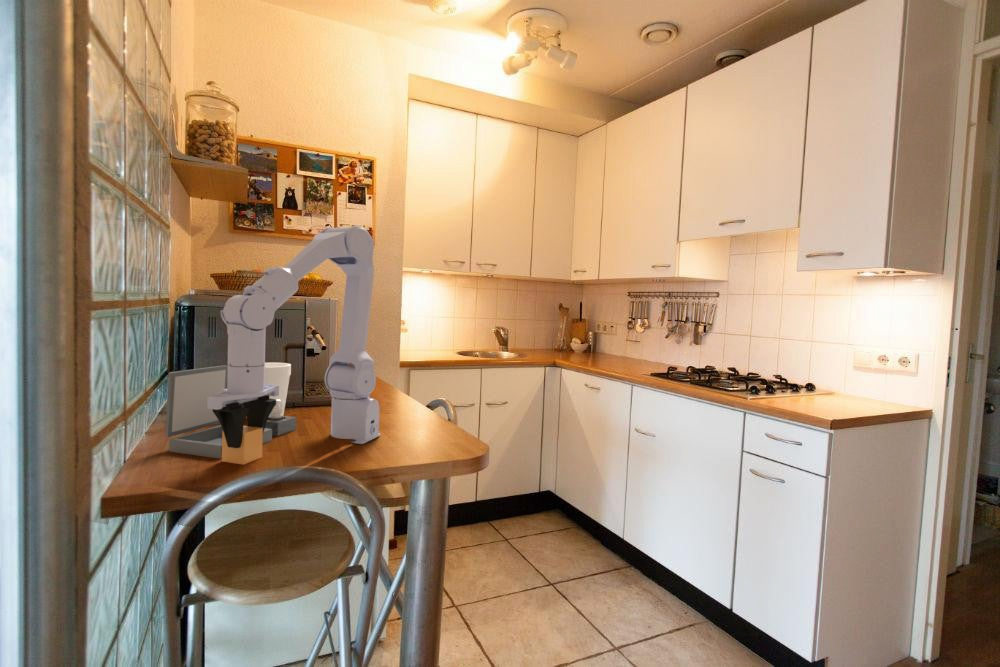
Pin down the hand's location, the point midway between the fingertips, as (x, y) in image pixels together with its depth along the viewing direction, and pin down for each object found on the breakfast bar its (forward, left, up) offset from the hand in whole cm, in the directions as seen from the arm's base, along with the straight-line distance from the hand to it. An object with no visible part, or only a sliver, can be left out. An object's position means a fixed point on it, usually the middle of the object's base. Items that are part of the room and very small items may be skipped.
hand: (244, 443), depth 87 cm
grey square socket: (+8, -18, -4) cm, 20 cm away
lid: (+15, -6, +5) cm, 17 cm away
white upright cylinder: (+8, -18, -3) cm, 20 cm away
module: (0, 0, -4) cm, 4 cm away
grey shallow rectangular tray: (+9, -6, -4) cm, 12 cm away
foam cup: (+19, -30, -4) cm, 36 cm away
